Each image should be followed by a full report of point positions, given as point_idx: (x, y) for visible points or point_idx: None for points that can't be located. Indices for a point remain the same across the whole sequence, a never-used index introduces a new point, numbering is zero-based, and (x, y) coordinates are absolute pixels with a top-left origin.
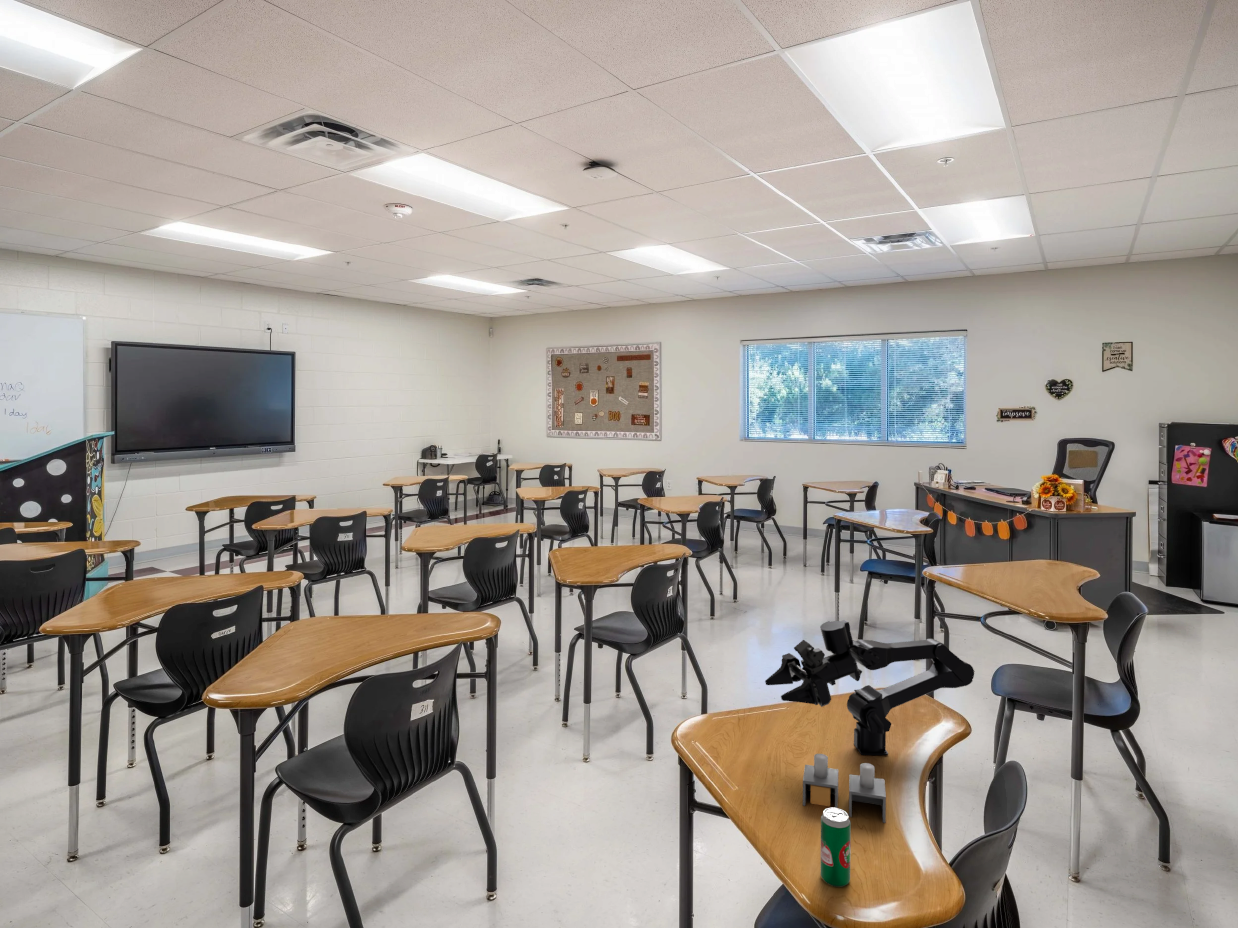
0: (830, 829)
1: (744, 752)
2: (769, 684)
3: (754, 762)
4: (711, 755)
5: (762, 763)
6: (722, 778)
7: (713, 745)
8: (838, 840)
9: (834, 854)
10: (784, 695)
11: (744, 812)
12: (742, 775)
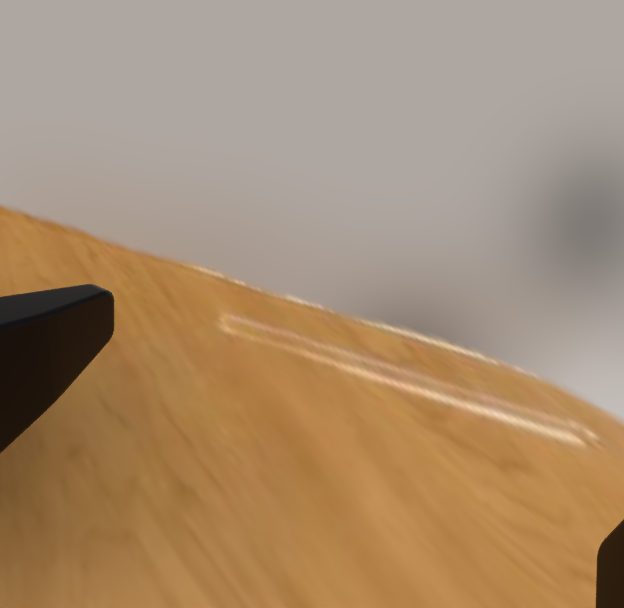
0: None
1: (415, 546)
2: (600, 598)
3: (314, 510)
4: (453, 411)
5: (284, 535)
6: (297, 333)
7: (530, 476)
8: None
9: None
10: (54, 291)
11: (120, 260)
12: (268, 393)
